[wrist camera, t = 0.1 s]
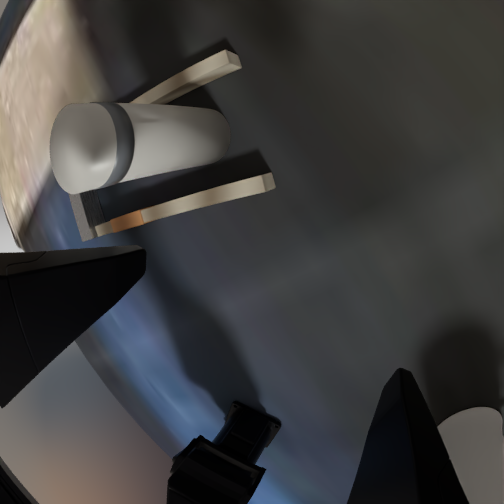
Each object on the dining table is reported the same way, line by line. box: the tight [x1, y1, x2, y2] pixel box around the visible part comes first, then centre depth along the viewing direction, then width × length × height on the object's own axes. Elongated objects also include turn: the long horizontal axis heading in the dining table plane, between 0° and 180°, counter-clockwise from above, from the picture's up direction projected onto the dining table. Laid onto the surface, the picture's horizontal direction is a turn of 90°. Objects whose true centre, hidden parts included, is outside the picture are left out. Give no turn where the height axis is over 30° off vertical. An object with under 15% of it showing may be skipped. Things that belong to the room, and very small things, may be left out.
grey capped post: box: [50, 102, 231, 194], centre depth 18 cm, size 5×5×13 cm
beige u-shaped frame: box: [69, 50, 276, 242], centre depth 26 cm, size 24×11×2 cm, turn 107°
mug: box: [437, 407, 504, 504], centre depth 16 cm, size 12×8×12 cm
